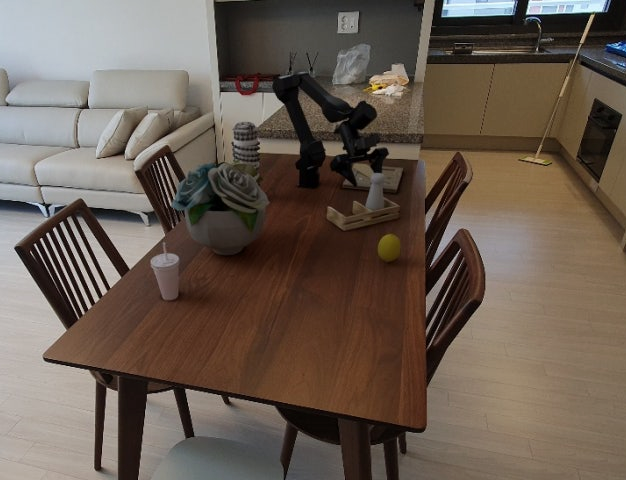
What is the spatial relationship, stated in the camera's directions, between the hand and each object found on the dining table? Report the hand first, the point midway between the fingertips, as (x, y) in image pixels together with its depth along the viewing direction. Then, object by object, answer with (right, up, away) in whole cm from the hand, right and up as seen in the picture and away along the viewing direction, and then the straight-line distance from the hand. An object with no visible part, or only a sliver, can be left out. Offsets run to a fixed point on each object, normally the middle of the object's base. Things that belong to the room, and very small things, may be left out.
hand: (368, 183), depth 142 cm
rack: (-2, -11, 0) cm, 11 cm away
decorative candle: (-38, -2, +16) cm, 41 cm away
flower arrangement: (-43, -22, -15) cm, 50 cm away
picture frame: (+9, +8, +28) cm, 30 cm away
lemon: (-1, -26, -23) cm, 35 cm away
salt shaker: (+2, -10, +2) cm, 10 cm away
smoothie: (-55, -34, -34) cm, 73 cm away
